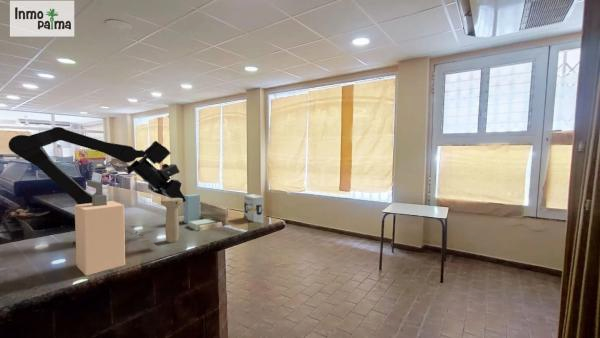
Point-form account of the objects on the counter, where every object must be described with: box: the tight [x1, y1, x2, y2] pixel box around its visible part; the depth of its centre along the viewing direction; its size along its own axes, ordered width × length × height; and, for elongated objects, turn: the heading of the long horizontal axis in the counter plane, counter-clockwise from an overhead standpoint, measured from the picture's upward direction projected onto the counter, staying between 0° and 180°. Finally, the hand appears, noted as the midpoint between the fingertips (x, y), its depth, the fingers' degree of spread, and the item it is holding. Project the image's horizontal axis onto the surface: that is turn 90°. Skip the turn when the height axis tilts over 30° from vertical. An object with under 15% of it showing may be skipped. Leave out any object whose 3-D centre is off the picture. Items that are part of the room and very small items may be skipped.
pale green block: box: [188, 218, 217, 231], centre depth 107 cm, size 8×6×2 cm
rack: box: [178, 201, 229, 232], centre depth 112 cm, size 12×20×8 cm, turn 47°
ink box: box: [243, 193, 264, 224], centre depth 120 cm, size 9×5×12 cm, turn 42°
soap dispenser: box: [74, 179, 126, 276], centre depth 74 cm, size 13×9×22 cm
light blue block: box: [182, 193, 201, 225], centre depth 113 cm, size 5×4×12 cm
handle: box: [160, 197, 183, 243], centre depth 89 cm, size 5×6×15 cm
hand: (179, 199), depth 109 cm, fingers open, 9 cm apart
